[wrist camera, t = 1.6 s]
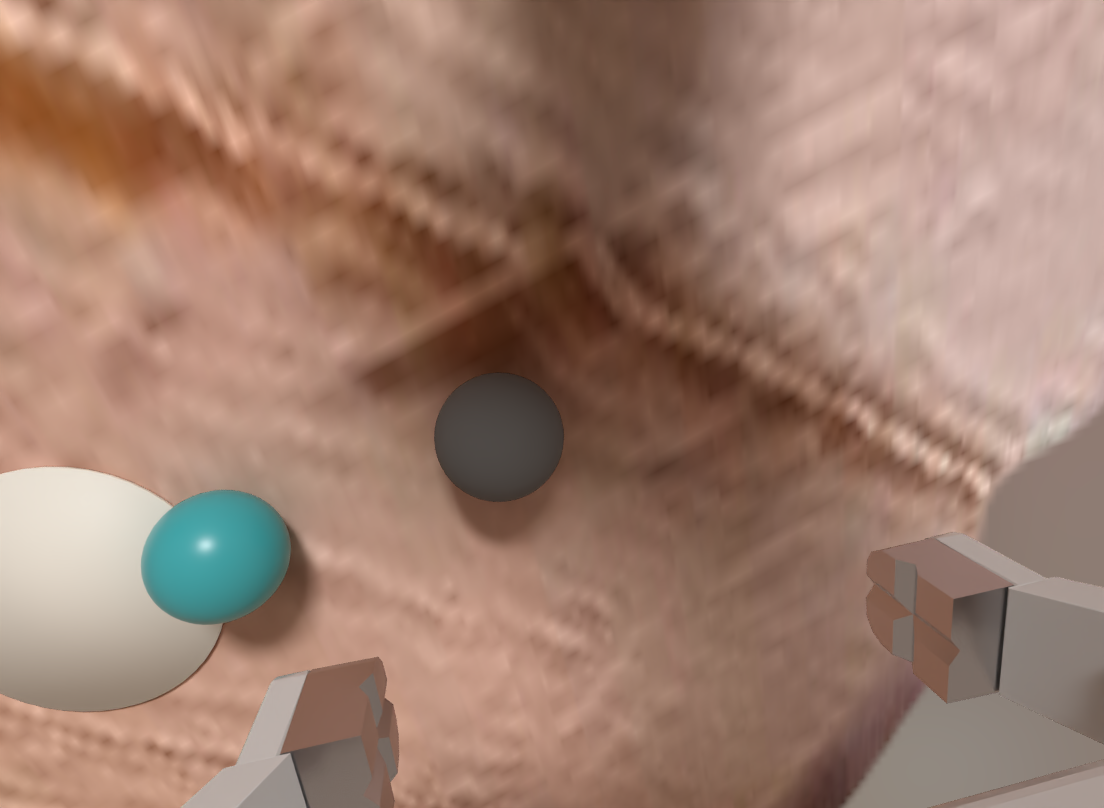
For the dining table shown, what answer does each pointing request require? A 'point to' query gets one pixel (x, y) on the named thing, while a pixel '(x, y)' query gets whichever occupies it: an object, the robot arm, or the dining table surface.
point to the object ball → (215, 557)
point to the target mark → (85, 594)
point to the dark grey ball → (499, 437)
